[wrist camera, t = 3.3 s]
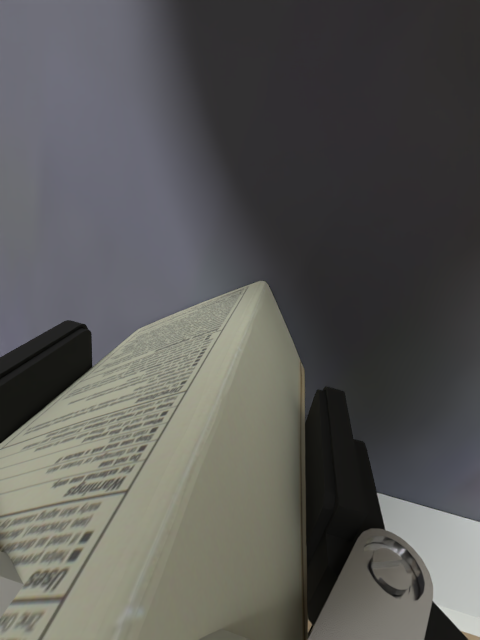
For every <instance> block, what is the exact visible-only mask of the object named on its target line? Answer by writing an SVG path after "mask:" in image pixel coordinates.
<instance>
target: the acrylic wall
mask: <svg viewBox="0 0 480 640" xmlns="http://www.w3.org/2000/svg"><path fill="white" fill-rule="evenodd" d="M377 496H378V500H379V505H380V509H381V513H382V517H383V522H384V526H385V530H386V531H389V532H392V533H394V534H395V535H397V536H399V537H400V538H402V539H403V540H404V541H406V542H407V543H408V544H409V545H410V546H411V547H412V548H413V549H414V550H415V551H416V552H417V554H418V555H419V556H420V557H421V559H422V560H423V562H424V563H425V565H426V567H427V569H428V571H429V573H430V576H431V580H432V583H433V602H434V603H435V604H436V605H437V606H438V607H439V608H440V609H441V610H442V611H443V613H444V614H445V615H446V616H447V617H448V618H449V619H450V620H451V621H452V622H453V623H454V624H455V626H456V627H457V628H458V629H459V630H460V631H463V632H466V633H469V634H472V635H475V636H478V637H480V522H477V521H474V520H470V519H467V518H463V517H460V516H456V515H453V514H449V513H446V512H442V511H439V510H436V509H432V508H429V507H425V506H422V505H418V504H415V503H411V502H408V501H404V500H401V499H397V498H394V497H390V496H387V495H383V494H380V493H377Z"/></svg>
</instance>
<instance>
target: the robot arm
mask: <svg viewBox="0 0 480 640" xmlns="http://www.w3.org/2000/svg"><path fill="white" fill-rule="evenodd" d="M91 368H92V340H91V332H90V330H88V328H87V326H86V325H85V324H81V323H77V322H74V321H69V320H67V321H64V322H62V323H61V324H59V325H57V326H55V327H54V328H52V329H50V330H48V331H46V332H45V333H43V334H41V335H39V336H38V337H36V338H34V339H32V340H30V341H29V342H27V343H25V344H23V345H21V346H20V347H18V348H16V349H14V350H13V351H11V352H9V353H7V354H5V355H4V356H2V357H0V444H1V443H2V442H3V441H4V440H6V439H7V438H8V437H9V436H11V435H12V434H13V433H14V432H15V431H17V430H18V429H19V428H20V427H21V426H23V425H24V424H25V423H26V422H27V421H28V420H30V419H31V418H32V417H33V416H34V415H36V414H37V413H38V412H39V411H41V410H42V409H43V408H44V407H45V406H46V405H48V404H49V403H50V402H51V401H52V400H54V399H55V398H56V397H57V396H58V395H59V394H61V393H62V392H63V391H65V390H66V389H67V388H68V387H69V386H70V385H72V384H73V383H74V382H75V381H76V380H78V379H79V378H80V377H81V376H83V375H84V374H85V373H86V372H87V371H89V370H90V369H91ZM305 481H306V546H307V612H308V619H309V621H310V622H311V624H312V625H311V627H310V629H309V631H308V638H307V640H468V639H467V637H466V636H465V635H464V634H463V633H462V632H461V631H460V630H459V629H458V628H457V627H456V626H455V624H454V623H453V622H452V621H451V620H450V619H449V618H448V617H447V616H446V615H445V614H444V613H443V611H442V610H441V609H440V608H439V607H438V606H437V605H436V604H435V603H434V602H433V583H432V580H431V576H430V573H429V571H428V569H427V567H426V565H425V563H424V562H423V560H422V559H421V557H420V556H419V555H418V554H417V552H416V551H415V550H414V549H413V548H412V547H411V546H410V545H409V544H408V543H407V542H406V541H404V540H403V539H402V538H400V537H399V536H397V535H395V534H394V533H392V532H389V531H386V530H385V526H384V522H383V517H382V513H381V509H380V505H379V500H378V496H377V492H376V487H375V483H374V479H373V474H372V470H371V466H370V461H369V457H368V453H367V448H366V446H365V443H364V442H362V441H359V440H355V439H353V435H352V430H351V424H350V419H349V414H348V408H347V403H346V398H345V393H344V391H341V390H337V389H333V388H329V387H325V388H324V389H323V391H322V390H317V391H316V394H315V397H314V399H313V402H312V405H311V408H310V411H309V414H308V417H307V420H306V423H305ZM23 585H24V584H23V582H22V580H21V578H20V576H19V574H18V572H17V570H16V569H15V567H14V565H13V563H12V561H11V559H10V558H9V556H8V554H7V553H4V552H1V551H0V618H1V616H2V615H3V614H4V612H5V611H6V609H7V608H8V606H9V605H10V604H11V602H12V601H13V599H14V598H15V597H16V595H17V594H18V592H19V591H20V590H21V588H22V587H23ZM199 640H251V639H248V638H245V637H243V636H240V635H237V634H235V633H232V632H229V631H227V630H224V629H220V630H218V631H216V632H213V633H211V634H209V635H206V636H204V637H202V638H200V639H199Z"/></svg>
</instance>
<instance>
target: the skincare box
mask: <svg viewBox="0 0 480 640" xmlns="http://www.w3.org/2000/svg"><path fill="white" fill-rule="evenodd" d="M0 551H1V552H4V553H7V554H8V556H9V558H10V559H11V561H12V563H13V565H14V567H15V569H16V570H17V572H18V574H19V576H20V578H21V580H22V582H23V584H24V585H23V587H22V588H21V590H20V591H19V592H18V594H17V595H16V597H15V598H14V599H13V601H12V602H11V604H10V605H9V606H8V608H7V609H6V611H5V612H4V614H3V615H2V616H1V618H0V640H199V639H200V638H202V637H204V636H206V635H209V634H211V633H213V632H216V631H218V630H220V629H224V630H227V631H229V632H232V633H235V634H237V635H240V636H243V637H245V638H248V639H251V640H307V638H308V612H307V546H306V481H305V372H304V368H303V365H302V363H301V361H300V358H299V356H298V353H297V350H296V348H295V345H294V343H293V340H292V338H291V336H290V333H289V331H288V329H287V326H286V324H285V322H284V319H283V317H282V315H281V312H280V310H279V308H278V305H277V303H276V301H275V299H274V296H273V294H272V292H271V290H270V287H269V285H268V284H267V283H266V282H265V281H258V282H255V283H253V284H250V285H247V286H244V287H242V288H239V289H236V290H234V291H231V292H228V293H226V294H223V295H221V296H218V297H215V298H213V299H210V300H208V301H205V302H203V303H200V304H197V305H195V306H193V307H190V308H188V309H185V310H183V311H180V312H177V313H175V314H173V315H170V316H168V317H166V318H163V319H161V320H158V321H156V322H154V323H152V324H149V325H147V326H145V327H142V328H140V329H138V330H137V331H135V332H134V333H133V334H132V335H131V336H129V337H128V338H127V339H126V340H125V341H123V342H122V343H121V344H120V345H119V346H117V347H116V348H115V349H114V350H113V351H112V352H110V353H109V354H108V355H107V356H105V357H104V358H103V359H102V360H101V361H99V362H98V363H97V364H96V365H95V366H93V367H92V368H91V369H90V370H89V371H87V372H86V373H85V374H84V375H83V376H81V377H80V378H79V379H78V380H76V381H75V382H74V383H73V384H72V385H70V386H69V387H68V388H67V389H66V390H65V391H63V392H62V393H61V394H59V395H58V396H57V397H56V398H55V399H54V400H52V401H51V402H50V403H49V404H48V405H46V406H45V407H44V408H43V409H42V410H41V411H39V412H38V413H37V414H36V415H34V416H33V417H32V418H31V419H30V420H28V421H27V422H26V423H25V424H24V425H23V426H21V427H20V428H19V429H18V430H17V431H15V432H14V433H13V434H12V435H11V436H9V437H8V438H7V439H6V440H4V441H3V442H2V443H1V444H0Z"/></svg>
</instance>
